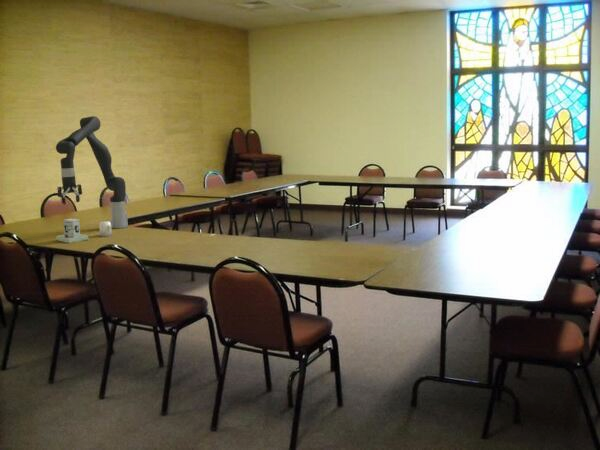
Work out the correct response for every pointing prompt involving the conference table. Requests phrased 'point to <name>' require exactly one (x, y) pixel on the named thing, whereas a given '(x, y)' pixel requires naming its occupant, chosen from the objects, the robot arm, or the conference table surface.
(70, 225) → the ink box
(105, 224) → the mug
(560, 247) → the conference table surface
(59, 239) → the tray
